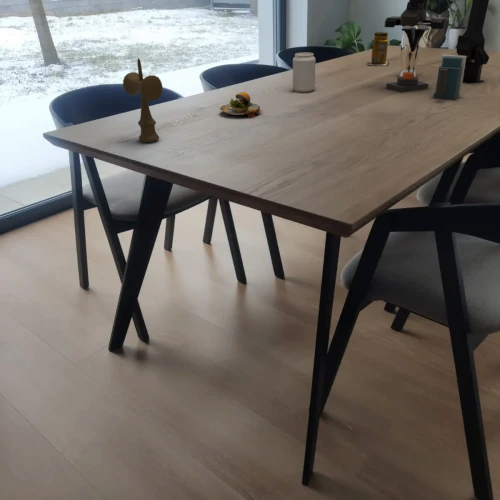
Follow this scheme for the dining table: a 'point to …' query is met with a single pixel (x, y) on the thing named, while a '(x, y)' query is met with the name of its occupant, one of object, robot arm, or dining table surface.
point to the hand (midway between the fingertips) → (412, 51)
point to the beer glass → (409, 56)
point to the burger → (241, 106)
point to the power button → (408, 75)
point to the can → (304, 72)
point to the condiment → (379, 49)
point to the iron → (450, 77)
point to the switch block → (406, 85)
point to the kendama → (144, 100)
